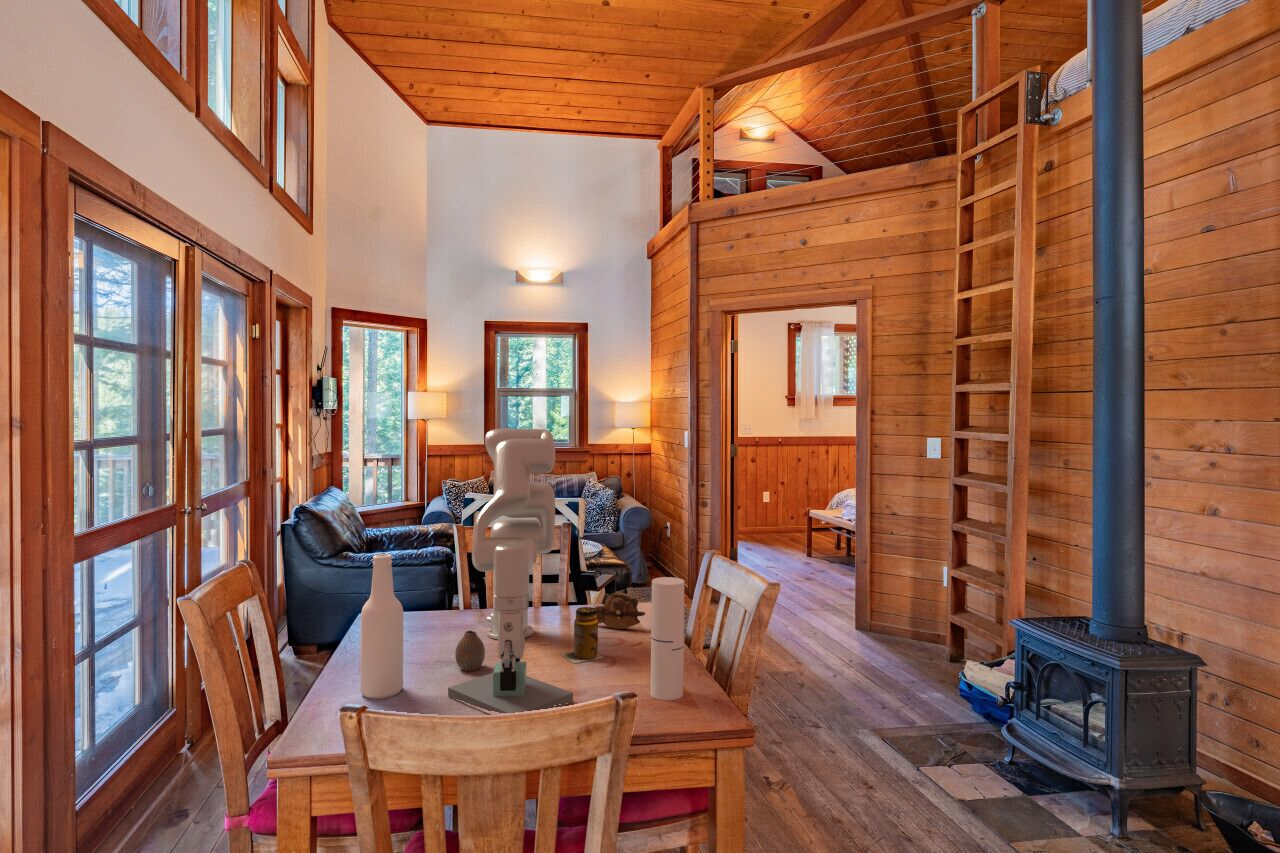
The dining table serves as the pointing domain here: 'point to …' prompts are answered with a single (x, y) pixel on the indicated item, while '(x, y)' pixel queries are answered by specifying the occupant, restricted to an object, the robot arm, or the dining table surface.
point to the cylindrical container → (667, 638)
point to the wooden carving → (618, 611)
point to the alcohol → (381, 635)
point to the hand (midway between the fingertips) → (510, 681)
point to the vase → (470, 652)
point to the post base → (533, 699)
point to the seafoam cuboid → (520, 680)
